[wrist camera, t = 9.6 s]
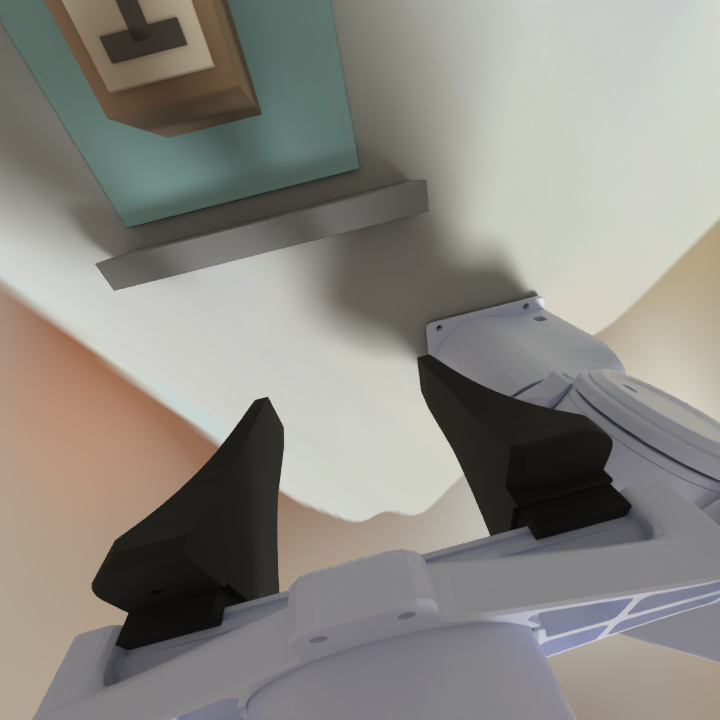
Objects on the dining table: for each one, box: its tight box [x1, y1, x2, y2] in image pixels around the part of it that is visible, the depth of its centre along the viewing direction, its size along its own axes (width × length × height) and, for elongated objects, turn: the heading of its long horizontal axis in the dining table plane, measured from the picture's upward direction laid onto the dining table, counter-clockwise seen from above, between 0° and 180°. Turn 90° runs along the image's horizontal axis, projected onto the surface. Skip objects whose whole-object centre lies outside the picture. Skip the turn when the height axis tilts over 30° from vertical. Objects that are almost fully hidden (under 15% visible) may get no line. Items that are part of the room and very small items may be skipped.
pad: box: [0, 0, 359, 228], centre depth 13 cm, size 14×12×1 cm
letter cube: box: [44, 0, 262, 138], centre depth 11 cm, size 5×5×5 cm
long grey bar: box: [95, 180, 428, 291], centre depth 17 cm, size 18×2×3 cm, turn 102°
